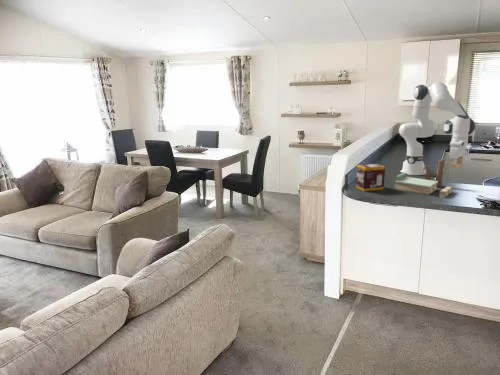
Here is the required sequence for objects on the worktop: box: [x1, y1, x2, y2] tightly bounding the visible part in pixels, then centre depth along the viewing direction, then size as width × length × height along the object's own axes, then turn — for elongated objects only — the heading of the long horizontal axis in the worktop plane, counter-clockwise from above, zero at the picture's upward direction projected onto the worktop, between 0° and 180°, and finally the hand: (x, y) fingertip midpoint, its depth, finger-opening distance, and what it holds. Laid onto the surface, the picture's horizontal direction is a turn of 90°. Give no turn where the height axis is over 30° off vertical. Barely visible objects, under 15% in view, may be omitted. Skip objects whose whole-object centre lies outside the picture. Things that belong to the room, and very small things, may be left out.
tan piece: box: [394, 182, 453, 199], centre depth 256 cm, size 16×31×4 cm, turn 49°
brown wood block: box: [450, 156, 464, 169], centre depth 243 cm, size 4×5×6 cm
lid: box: [394, 172, 438, 188], centre depth 258 cm, size 16×22×4 cm
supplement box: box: [355, 163, 386, 192], centre depth 262 cm, size 10×15×16 cm
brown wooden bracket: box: [424, 159, 445, 188], centre depth 266 cm, size 4×11×18 cm, turn 64°
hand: (456, 164), depth 243 cm, fingers closed on brown wood block, 4 cm apart
